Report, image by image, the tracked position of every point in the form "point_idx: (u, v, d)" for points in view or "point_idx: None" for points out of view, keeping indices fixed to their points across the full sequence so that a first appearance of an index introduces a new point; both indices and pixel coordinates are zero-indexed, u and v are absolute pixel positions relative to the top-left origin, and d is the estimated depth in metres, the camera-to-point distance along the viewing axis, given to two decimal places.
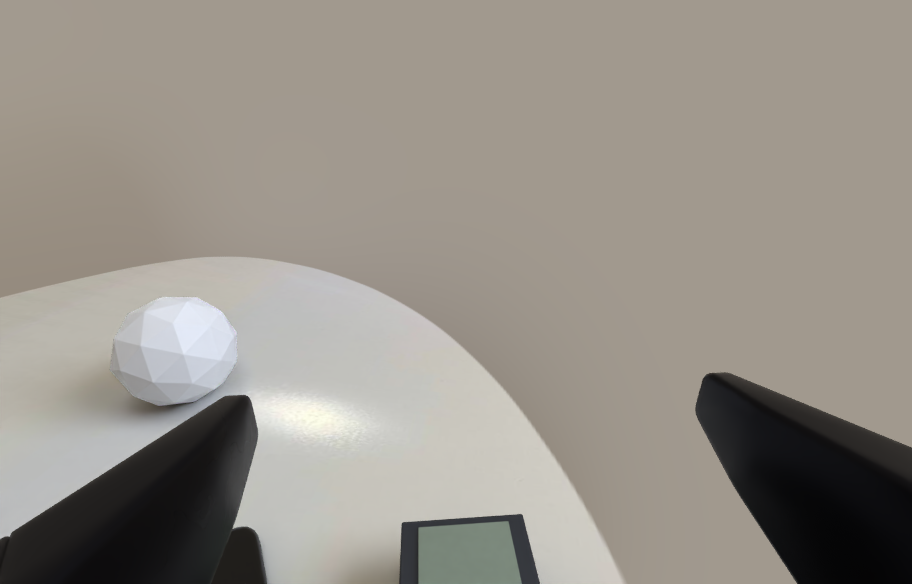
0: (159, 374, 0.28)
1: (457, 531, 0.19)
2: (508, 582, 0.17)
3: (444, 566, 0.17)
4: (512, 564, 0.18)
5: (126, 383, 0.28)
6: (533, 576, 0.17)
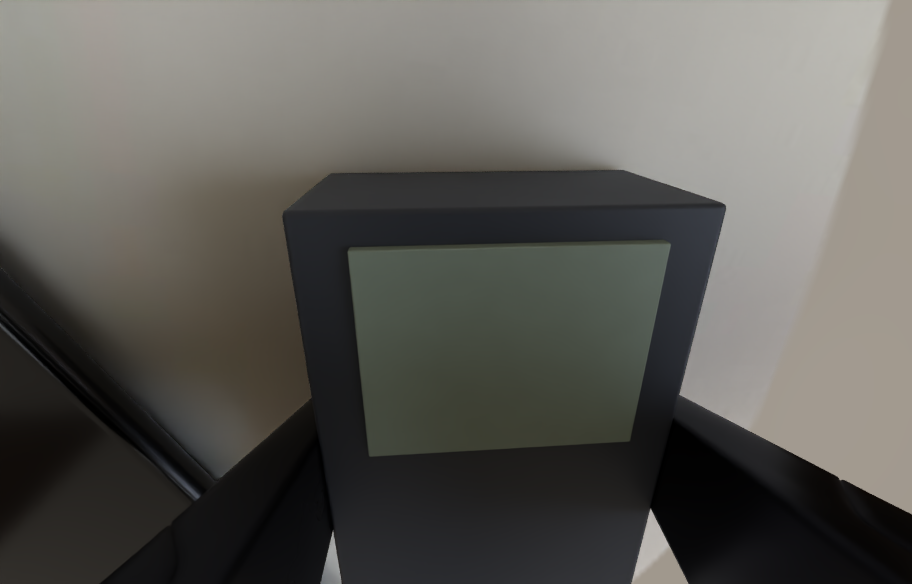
0: None
1: (488, 274, 0.05)
2: (602, 415, 0.06)
3: (436, 377, 0.06)
4: (629, 364, 0.06)
5: None
6: (669, 394, 0.07)
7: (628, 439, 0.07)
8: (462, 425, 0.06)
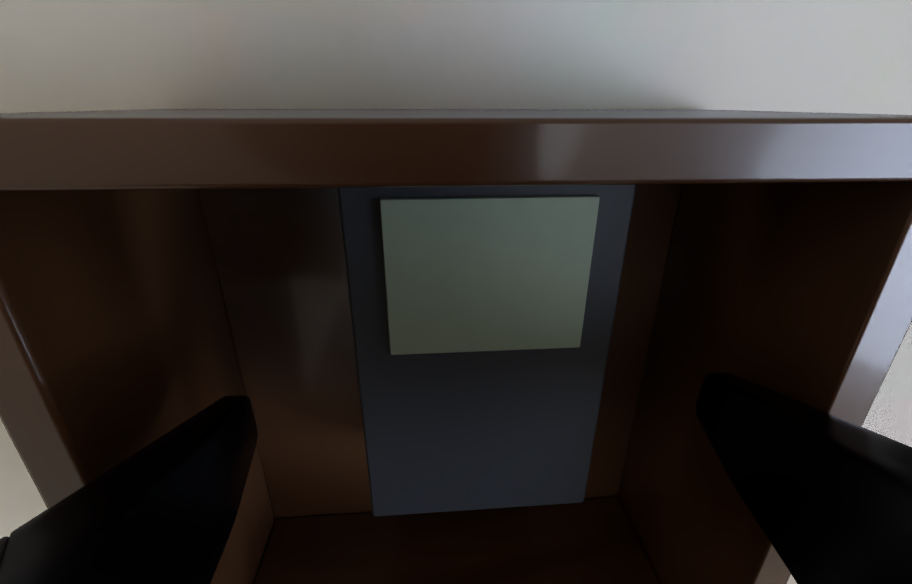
0: None
1: (476, 217, 0.08)
2: (559, 325, 0.09)
3: (439, 294, 0.08)
4: (577, 288, 0.09)
5: None
6: (607, 311, 0.09)
7: (578, 346, 0.09)
8: (458, 331, 0.09)
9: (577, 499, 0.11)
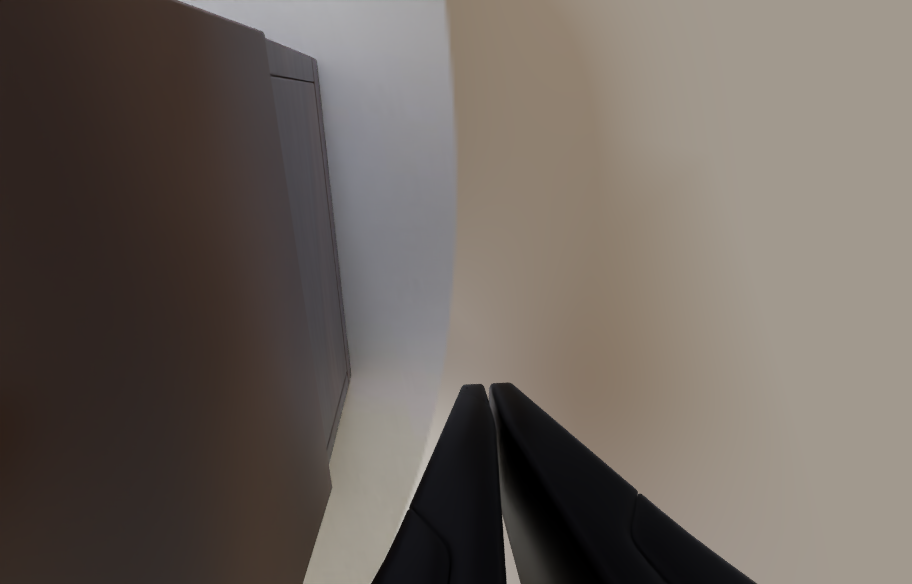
0: None
1: None
2: None
3: None
4: None
5: None
6: None
7: None
8: None
9: None
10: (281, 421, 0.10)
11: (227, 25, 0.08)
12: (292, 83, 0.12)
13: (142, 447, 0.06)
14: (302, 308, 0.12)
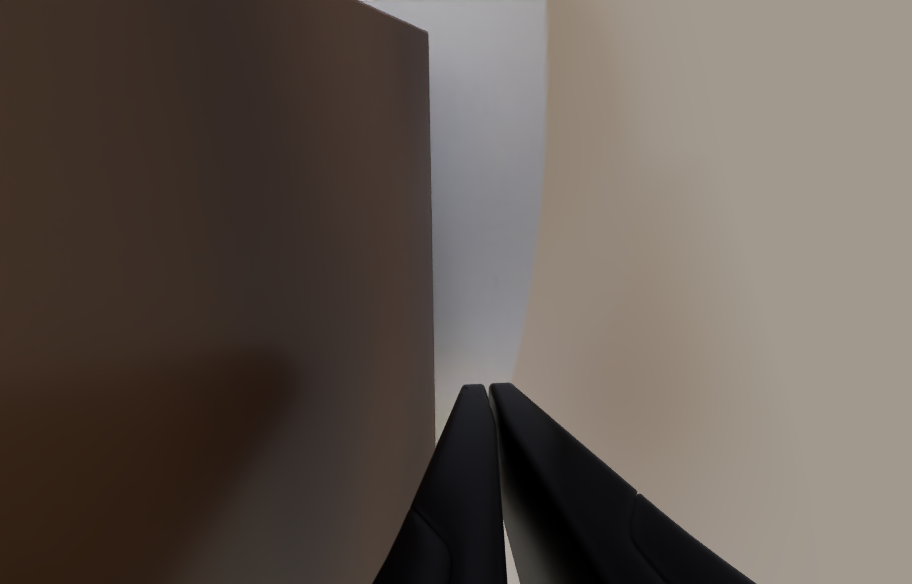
0: None
1: None
2: None
3: None
4: None
5: None
6: None
7: None
8: None
9: None
10: (402, 413, 0.11)
11: (399, 25, 0.08)
12: None
13: (292, 424, 0.06)
14: (430, 303, 0.12)
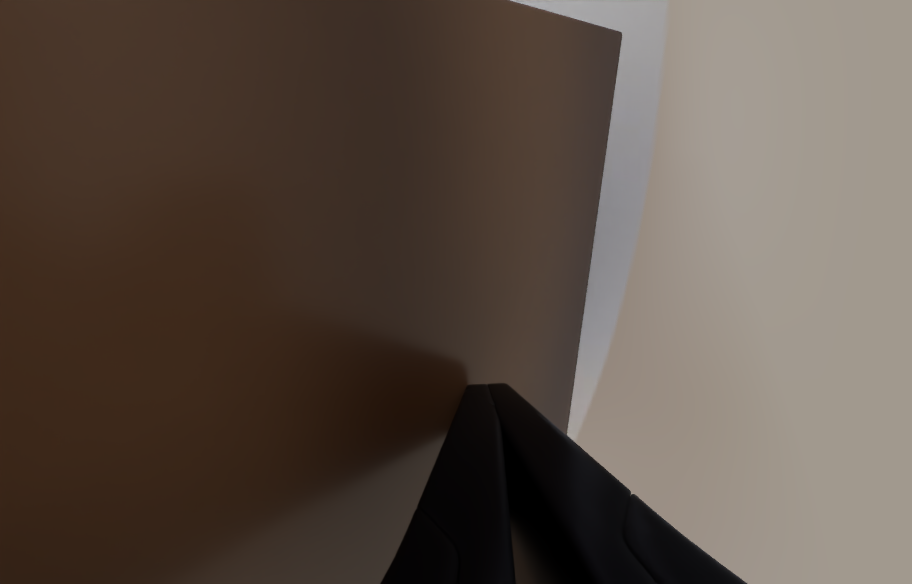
0: None
1: None
2: None
3: None
4: None
5: None
6: None
7: None
8: None
9: None
10: None
11: (583, 28, 0.08)
12: None
13: (402, 390, 0.07)
14: (579, 315, 0.12)
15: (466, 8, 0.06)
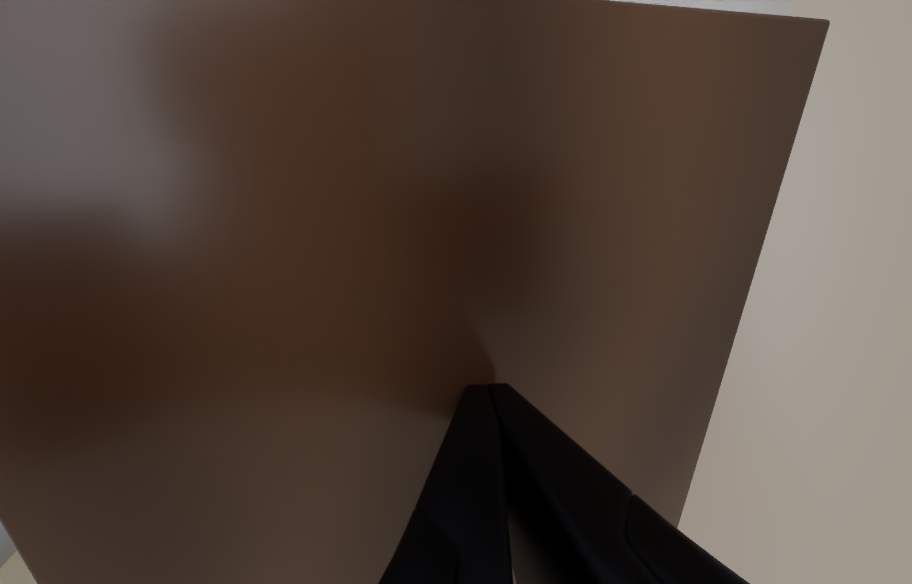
0: None
1: None
2: None
3: None
4: None
5: None
6: None
7: None
8: None
9: None
10: (632, 422, 0.10)
11: (757, 21, 0.07)
12: None
13: (488, 345, 0.08)
14: (727, 338, 0.10)
15: (590, 18, 0.06)
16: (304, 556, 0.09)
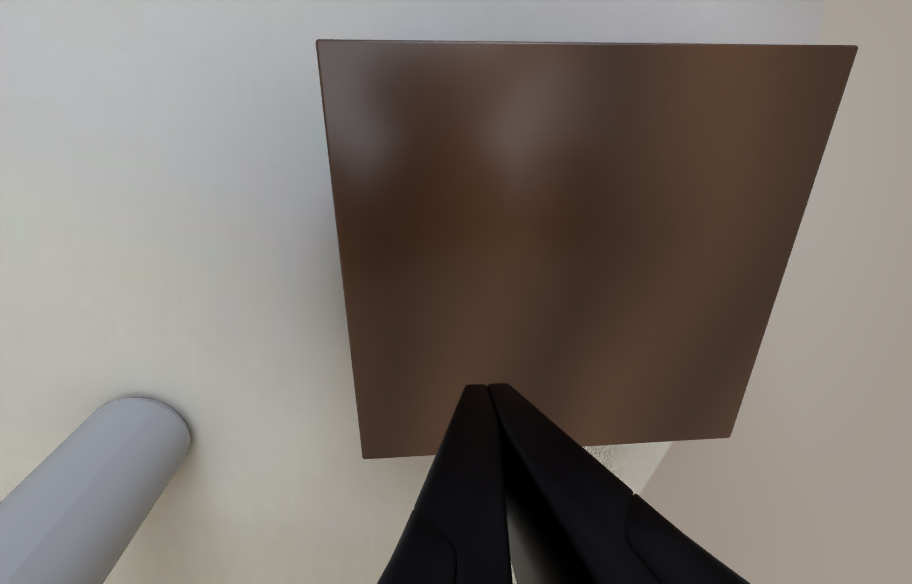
0: None
1: None
2: None
3: None
4: None
5: None
6: None
7: None
8: None
9: None
10: (694, 326, 0.15)
11: (796, 49, 0.12)
12: None
13: (596, 249, 0.13)
14: (777, 273, 0.14)
15: (676, 54, 0.11)
16: (471, 367, 0.15)
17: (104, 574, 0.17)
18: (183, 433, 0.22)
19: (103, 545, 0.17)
